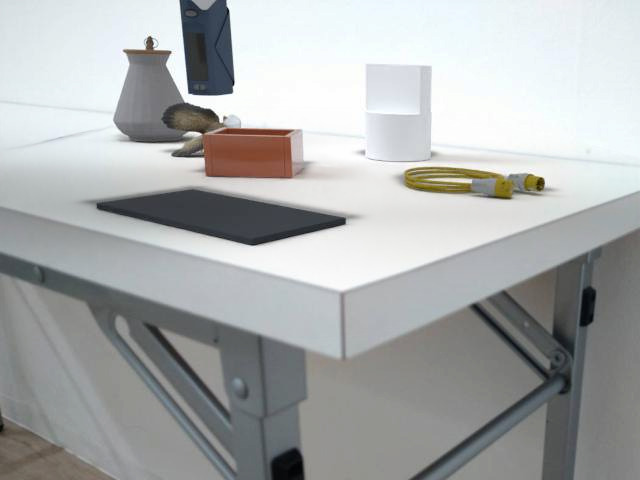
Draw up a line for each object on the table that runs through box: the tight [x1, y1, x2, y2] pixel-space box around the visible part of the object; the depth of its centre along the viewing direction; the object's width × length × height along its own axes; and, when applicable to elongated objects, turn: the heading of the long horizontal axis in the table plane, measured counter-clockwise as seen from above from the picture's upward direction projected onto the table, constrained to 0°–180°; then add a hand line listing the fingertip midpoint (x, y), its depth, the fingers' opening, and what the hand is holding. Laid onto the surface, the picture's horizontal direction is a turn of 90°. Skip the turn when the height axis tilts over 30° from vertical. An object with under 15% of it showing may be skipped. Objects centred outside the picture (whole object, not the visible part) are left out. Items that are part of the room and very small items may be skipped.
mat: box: [95, 188, 347, 246], centre depth 63 cm, size 20×10×1 cm, turn 55°
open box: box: [201, 127, 305, 179], centre depth 86 cm, size 10×9×4 cm
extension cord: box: [403, 166, 546, 199], centre depth 80 cm, size 12×16×2 cm
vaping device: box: [178, 0, 236, 97], centre depth 58 cm, size 3×5×12 cm, turn 173°
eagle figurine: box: [161, 101, 242, 157], centre depth 99 cm, size 8×7×9 cm
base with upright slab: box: [364, 63, 433, 162], centre depth 100 cm, size 9×9×12 cm
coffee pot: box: [112, 35, 188, 142], centre depth 116 cm, size 21×12×15 cm, turn 18°
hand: (212, 6), depth 58 cm, fingers closed on vaping device, 5 cm apart
